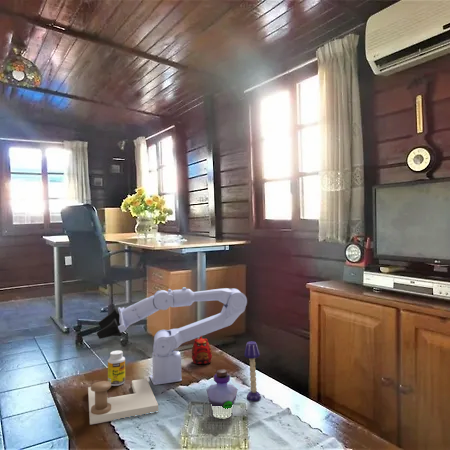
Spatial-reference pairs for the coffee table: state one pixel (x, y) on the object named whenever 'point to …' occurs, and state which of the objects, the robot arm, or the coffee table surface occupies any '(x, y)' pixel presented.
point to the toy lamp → (252, 369)
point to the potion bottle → (222, 390)
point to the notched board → (120, 402)
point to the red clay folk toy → (201, 351)
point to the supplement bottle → (116, 368)
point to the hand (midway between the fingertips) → (99, 330)
